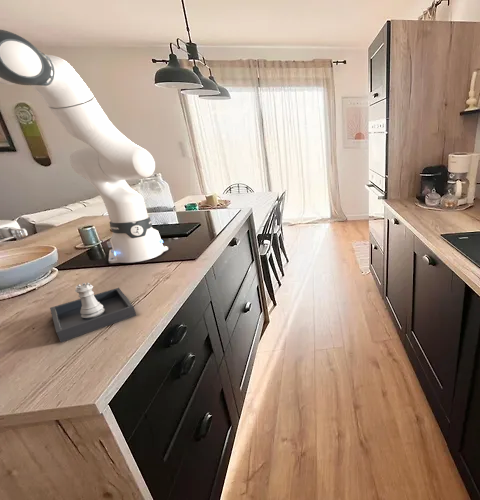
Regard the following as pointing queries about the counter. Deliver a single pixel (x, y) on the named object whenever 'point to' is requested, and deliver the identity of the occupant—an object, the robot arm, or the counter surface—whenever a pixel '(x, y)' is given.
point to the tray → (75, 325)
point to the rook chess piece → (88, 301)
